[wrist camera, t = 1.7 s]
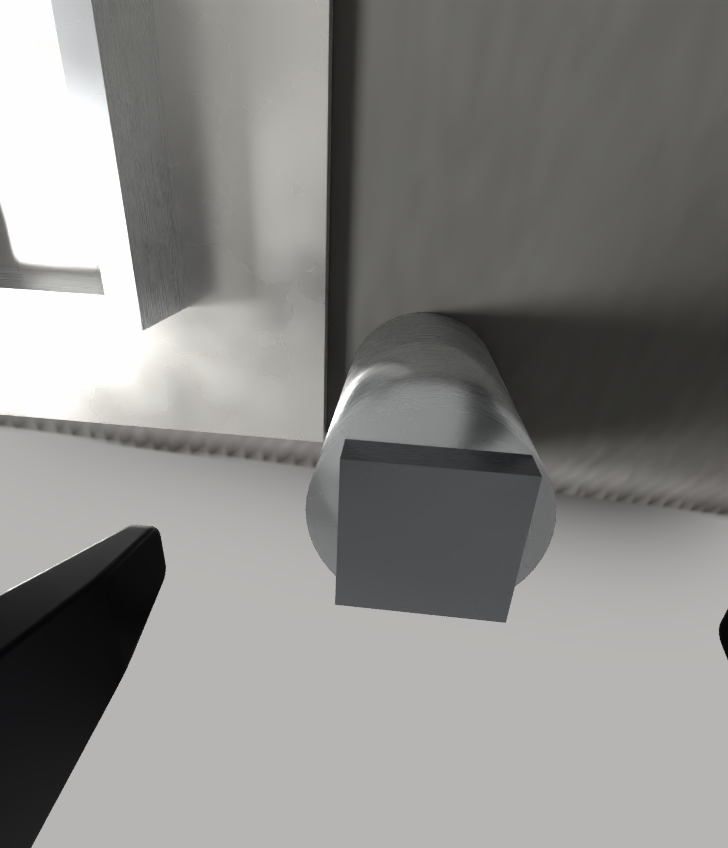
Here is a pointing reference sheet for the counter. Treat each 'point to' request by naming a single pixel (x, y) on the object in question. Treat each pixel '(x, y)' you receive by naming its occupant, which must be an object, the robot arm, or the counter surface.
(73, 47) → the duct socket
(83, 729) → the robot arm
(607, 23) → the counter surface
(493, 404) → the sleeve
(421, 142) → the counter surface
